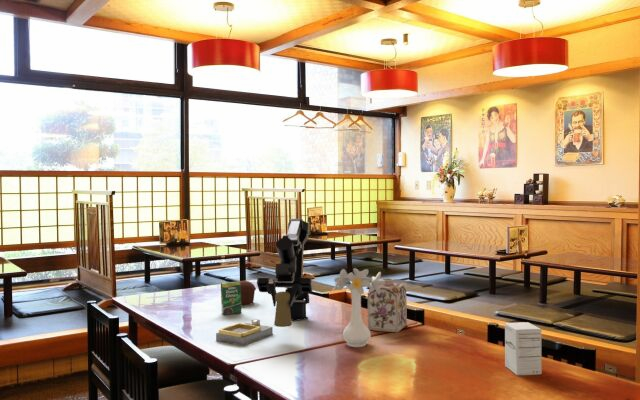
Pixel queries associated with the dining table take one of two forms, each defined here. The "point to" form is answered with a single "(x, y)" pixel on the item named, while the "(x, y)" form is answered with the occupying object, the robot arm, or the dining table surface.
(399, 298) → the decorative jar
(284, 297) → the cork
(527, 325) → the supplement box
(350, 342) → the flower vase
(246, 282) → the muffin
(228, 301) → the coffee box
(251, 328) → the grey base with knob
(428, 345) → the dining table surface
